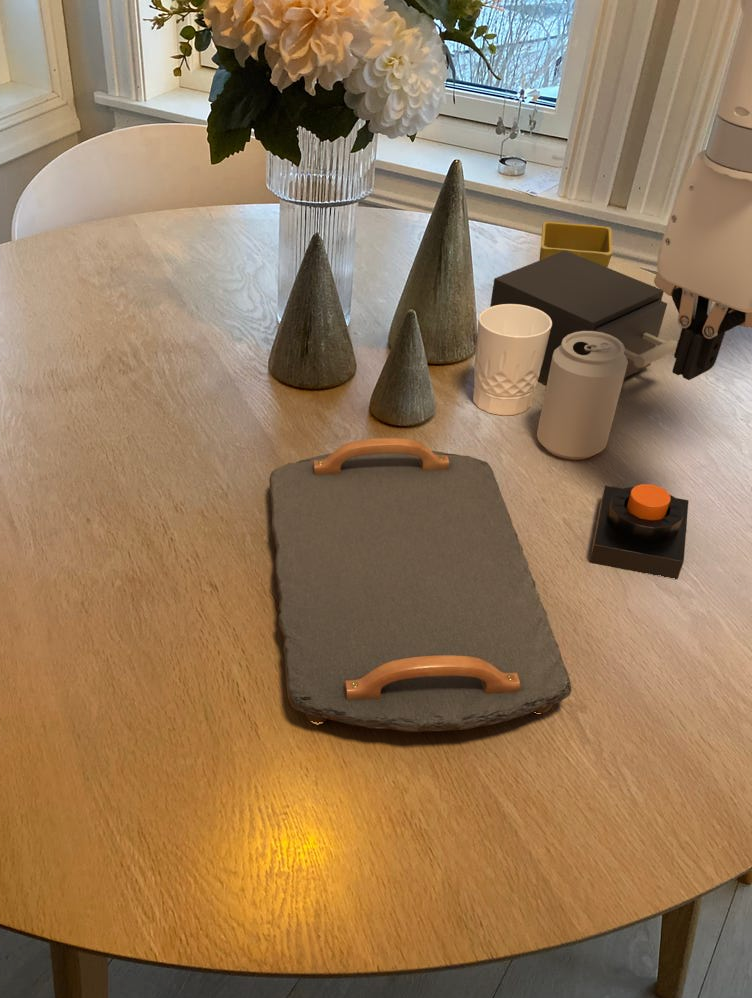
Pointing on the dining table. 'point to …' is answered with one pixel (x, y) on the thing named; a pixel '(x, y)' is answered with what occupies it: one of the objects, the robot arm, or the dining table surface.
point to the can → (582, 394)
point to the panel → (639, 536)
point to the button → (648, 502)
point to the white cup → (509, 357)
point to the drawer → (640, 335)
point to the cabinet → (572, 296)
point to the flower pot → (577, 241)
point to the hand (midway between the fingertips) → (690, 371)
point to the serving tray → (407, 592)
